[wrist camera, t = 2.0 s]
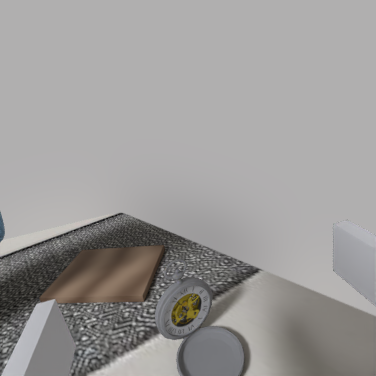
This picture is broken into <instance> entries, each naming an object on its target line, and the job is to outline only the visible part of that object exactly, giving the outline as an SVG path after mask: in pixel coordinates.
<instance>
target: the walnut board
mask: <svg viewBox="0 0 376 376" xmlns="http://www.w3.org/2000/svg"><path fill="white" fill-rule="evenodd" d="M164 251H165V248H164V245H155V246H139V247H123V248H107V249H91V250H82V251H81V252H80V253H79V254H78V255H77V256H76V258H75V259H74V260H73V261H72V262H71V263H70V264H69V265H68V266H67V268H66V269H65V270H64V271H63V272H62V273H61V274H60V275H59V276H58V278H57V279H56V280H55V281H54V282H53V283H52V284H51V285H50V286H49V288H48V289H47V290H46V291H45V292H44V293H43V294H42V295H41V297H40V298H39V299H40V301H41V303H42V302H46V301H50V300H53V299H55V300H56V302H57V303H89V302H144V300H145V298H146V296H147V293H148V291H149V288H150V286H151V283H152V281H153V278H154V276H155V273H156V271H157V268H158V266H159V263H160V261H161V258H162V256H163V253H164Z"/></svg>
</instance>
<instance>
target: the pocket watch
mask: <svg viewBox="0 0 376 376" xmlns="http://www.w3.org/2000/svg"><path fill="white" fill-rule="evenodd" d="M178 261H179V262H183V263H184V264H185V266H184V269H183V271H180V270H179V269H176V270H175V274H174V275H173V276H168V275H167V269H168V268H169V266H170V265H172V264H173V263H175V262H178ZM186 268H187V262H186V261H185V260H183V259H177V260H174V261H172V262H171V263H169V264H168V265H167V267H166V268H165V270H164V276H165V277H166V278H168V279H173V280H177V282H175V283H174V284H172V285H171V286H170V287H169V288H168V289H167V290H166V291H165V292H164V294H163V295H162V296H161V298H160V300H159V302H158V304H157V307H156V313H155V320H156V324H157V327H158V330H159V331H160V333H161V334H162V335H163V336H164V337H165V338H168V339H173V340H176V339H182V338H183V339H184V340H183V341H182V343H181V345H180V347H179V349H178V352H177V359H176V360H177V369H178V372H179V374H180V376H240V375H241V373H242V371H243V366H244V350H243V347H242V345H241V343H240V341H239V339H238V338H237V337H236V336H235V335H234V334H233V333H231V332H230V331H228V330H227V329H225V328H221V327H217V326H208V327H203V328H200V326H201V325H202V323H203V322H204V321H205V319H206V317H207V315H208V314H209V312H210V308H211V305H212V292H211V289H210V287H209V285H208V284H207V283H205V282H204V281H203V280H201V279H199V278H195V277H187V278H183V279H181V278H182V277H183V275H184V272H185V270H186ZM192 294H194V295H193V297H191V298H190V299H189V297H190V296H192ZM196 296H197V297H196ZM194 297H196V298H194ZM192 298H194V300H193V299H192ZM191 300H192V301H191ZM196 300H197V301H196ZM194 301H196V305H194V304H195V302H194ZM192 303H194V304H192ZM193 305H194V306H193ZM192 308H193V309H192ZM182 310H183V313H182ZM181 313H182V316H183V317H184V319H183V320H181V319H182V318H183V317H182V318H179V315H180V314H181ZM174 318H175V319H177V321H174V320H175V319H174ZM172 319H174V320H173V321H172Z"/></svg>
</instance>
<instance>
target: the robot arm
mask: <svg viewBox="0 0 376 376" xmlns="http://www.w3.org/2000/svg"><path fill="white" fill-rule="evenodd" d="M333 225H334V226H333V227H334V228H333V271H334V272H336V273H337V274H338V275H339V276H340V277H341V278H343V279H344V280H345V281H346V282H347V283H349V284H350V285H351V286H352V287H353V288H355V289H356V290H357V291H358V292H359V293H360V294H362V295H363V296H364V297H365V298H366V299H368V300H369V301H370V302H371V303H373V304H374V305H375V306H376V235H374V234H373V233H371V232H369V231H367V230H365V229H364V228H361V227H360V226H358V225H356V224H354V223H352V222H351V221H349V220H345V221H341V222H338V223H334V224H333ZM4 235H5V229H4V223H3V219H2V216H1V212H0V242H1V241H2V240H3V238H4ZM75 348H76V345H75V343H74V341H73V339H72V336H71V334H70V332H69V329H68V327H67V325H66V322H65V320H64V318H63V316H62V313H61V311H60V309H59V306H58V304H57V302H56V300H55V299H53V300H50V301H46V302H42V303H38V304H36V306H35V308H34V310H33V312H32V314H31V316H30V318H29V320H28V322H27V324H26V326H25V328H24V331H23V333H22V335H21V337H20V339H19V341H18V343H17V345H16V347H15V349H14V351H13V353H12V355H11V357H10V359H9V361H8V363H7V365H6V367H5V369H4V371H3V373H2V375H1V376H69V372H70V368H71V364H72V360H73V356H74V352H75Z"/></svg>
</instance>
